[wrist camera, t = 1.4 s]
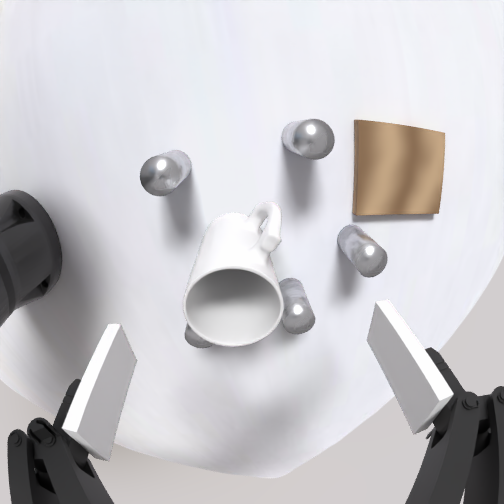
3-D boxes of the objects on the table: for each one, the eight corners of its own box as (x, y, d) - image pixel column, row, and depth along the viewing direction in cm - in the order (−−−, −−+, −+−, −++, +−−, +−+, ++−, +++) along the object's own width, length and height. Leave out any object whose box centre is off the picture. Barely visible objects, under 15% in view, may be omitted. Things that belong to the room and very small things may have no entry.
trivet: (352, 212, 28) (356, 215, 27) (354, 119, 24) (358, 119, 23) (434, 211, 28) (438, 213, 27) (439, 132, 24) (445, 132, 23)
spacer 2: (194, 314, 33) (188, 348, 27) (189, 292, 31) (181, 325, 26) (219, 313, 33) (217, 347, 27) (216, 291, 31) (213, 324, 26)
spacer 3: (282, 153, 25) (295, 159, 20) (280, 121, 24) (293, 118, 18) (314, 152, 25) (334, 159, 20) (313, 121, 24) (333, 119, 18)
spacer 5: (336, 252, 30) (356, 279, 25) (338, 225, 29) (360, 248, 23) (361, 250, 30) (384, 275, 25) (364, 224, 29) (389, 245, 23)
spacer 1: (161, 183, 26) (143, 198, 20) (158, 152, 24) (137, 159, 19) (192, 180, 26) (181, 193, 20) (189, 148, 24) (176, 152, 19)
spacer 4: (275, 302, 32) (283, 335, 27) (275, 279, 31) (283, 311, 26) (302, 299, 32) (313, 332, 27) (303, 276, 31) (316, 307, 26)
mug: (244, 279, 31) (250, 357, 20) (190, 252, 29) (168, 324, 18) (295, 203, 27) (333, 254, 17) (238, 169, 26) (239, 199, 15)
